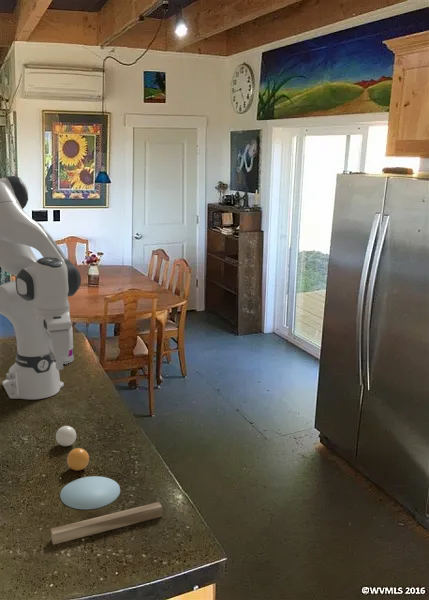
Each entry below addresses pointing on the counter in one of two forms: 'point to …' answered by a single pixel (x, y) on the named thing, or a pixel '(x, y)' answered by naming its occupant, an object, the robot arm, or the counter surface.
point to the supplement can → (71, 353)
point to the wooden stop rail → (105, 523)
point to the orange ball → (78, 459)
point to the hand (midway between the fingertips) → (56, 364)
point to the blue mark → (90, 492)
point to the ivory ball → (66, 436)
